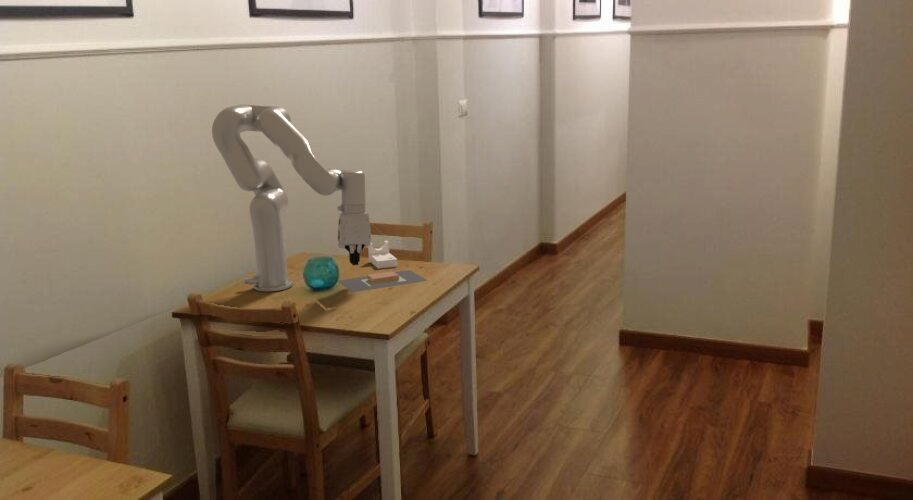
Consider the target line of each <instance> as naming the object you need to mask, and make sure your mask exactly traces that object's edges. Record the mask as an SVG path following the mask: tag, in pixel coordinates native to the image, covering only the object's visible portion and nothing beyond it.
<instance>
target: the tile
mask: <svg viewBox="0 0 913 500" xmlns="http://www.w3.org/2000/svg"><path fill="white" fill-rule="evenodd" d="M395 272H396V271H393V270H391V271H386V272H379V273H371V274H367V275H366V276H367V279H368V280H369V281H370V282H372V283H373V284H378V283H385V282H391V281H398V280H399V275H398V274H396V273H395Z"/></svg>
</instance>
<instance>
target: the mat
mask: <svg viewBox="0 0 913 500" xmlns="http://www.w3.org/2000/svg"><path fill="white" fill-rule="evenodd" d="M394 272H395V273H396V274H398V275H399V280H398V281H391V282H385V283H378V284H373V283H372V282H370V281H369V280H368V279H367V275H366V276H359V277H353V278H346V279H339V280H337V282H338V283H340V284H341V285H342V286H343V287H344V288H346V289H347V290H349V291H350V292H351V293H357V292H363V291H370V290H375V289H383V288H389V287H395V286H401V285H408V284H415V283H420V282H427V281H428V279H427V278H425V277H422V275H419V274H417V273H415V272H413V271H412V270H411V269H407V270H400V271H394Z"/></svg>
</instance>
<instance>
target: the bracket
mask: <svg viewBox="0 0 913 500" xmlns="http://www.w3.org/2000/svg"><path fill="white" fill-rule="evenodd" d="M389 243H390V242H389V241H388V240H384V241H383V245H382V246H381V247H379V248H375V247H374V246H373V243H372V242H370V245H369V246H367V247H368V248H367V249H368V250H367V251H368V261H369V262H370V263H371V264H372V265H373V266H374V267H376V268H377V269H378V270H379V269H387V268H394V267H398V266H399V265H398V258H397V257H395V256H394V255H393V254H391V253H390V245H389Z"/></svg>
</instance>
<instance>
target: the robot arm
mask: <svg viewBox="0 0 913 500" xmlns="http://www.w3.org/2000/svg"><path fill="white" fill-rule="evenodd" d="M291 121H292V119H291V115H290V113H289V112H288V111H287V110H286V109H285V108H283V107H281V106H271V105H270V106H269V105H255V104H238V105H232V106H229V107H225V108H223V109H222V110H221V111H220V112H219V113H218V114H217V115H216V116H215V119H213V123H212V127H211V137H212V139H213V143H214V144H215V146H216V149H217V151H219V153H220V155H221V157H222V158H223V160H224V162H225V164H226V165H227V168H228V169H229V171H230V173H231V175H232V177H233V179H234V181H235V182H236V184H237V185H238V186H239V188H240V189H241V190H243V191H245V192H252V193H254V195H255V196H254V197H253V198H252V199H251V202H250V204H249V217H250V221H251V226H252V231H253V232H252V233H253V241H254V250H255V251H254V252H255V262H256V263H255V264H256V271H257V273H255V274H254V275H253V276H252V277H245V278H242V283H243V285H249V286H251V285H253V289H254V290H255V291H257V292H267V293H268V292H278V291H284V290H287V289H290V288H291V287H293V284H294V283H293V281H292V280H291V279H289V278H288V270H287V269H288V268H287V257H286V256H287V255H286V245H285V233H284V228H283V227H284V226H283V222H282V217H281V215H282V214H283V213H285V211H287V209H288V207H289V197H288V195H287V193H286V191H285V189H284V187H283V185H282V183H281V182H280V180H279V178H278V177H277V175H276V172H275V171H274V169H273V168H272V167H271V166H270V164H269V163H268V162H266V161H265V160H264V159H261V158H255V157H254V155H253V154H252V152H251V150H250V148H249V147H248V145H247V143H246V142H245V141H244V139H242V137H241V133H244V132H258V133H259V132H261V133H262V134H263V135H264V136H265V137H266V138H267V139H268V140H269V141H270V142H271V143H272V144H273V145H274V146H275V147H277V149H278V150H279V151H280V152H281V153H282V154H283V155H284V156H285V157H286V158H287V160H288V161H289V163H290V164H291V166H292V167H293V168H294V170H295V171H296V173H297V174H298V176H299V177H300V178H301V179H302V180H303V181H304V183H306V184H307V185H308V187H310V188H311V189H312V190H313V191H314V192H315V193H317V194H318V195H320V196H324V197H325V196H331V195H333V194H334V193H336V192H338V191H339V192H341V204H340V205H338V206H337V211H340V213H339V217H338V223H337V224H338V226H337V241H338V244H337V247H338V248H339V249H344V250H346V251H347V252H348V253H349V254H348V258H349V263H350V264H351V265H352V266H359V262H360V258H361V257H360V256H361V255H360V253H361V252H362V250H364V248H366V247H368V246H369V245H370V243H372V242H371V241H372V231H371V221H370V217H369V213H368V212H367V211H366V175H365V172H364V171H363V170H360V169H347V170H345V169H339V168H333V167H330V168H325V167H324V166H323V165H322V164H321V163H320V162H319V161H318V159H316V157H315V156H314V154H313V153H312V150H311V146H310V143H309V141H308V139H307V137H306V136H304V135H303V133H302V132H301V131H300V130H298V129H297V127H295V126H294V124H292V122H291ZM354 246H355V247H354Z"/></svg>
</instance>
